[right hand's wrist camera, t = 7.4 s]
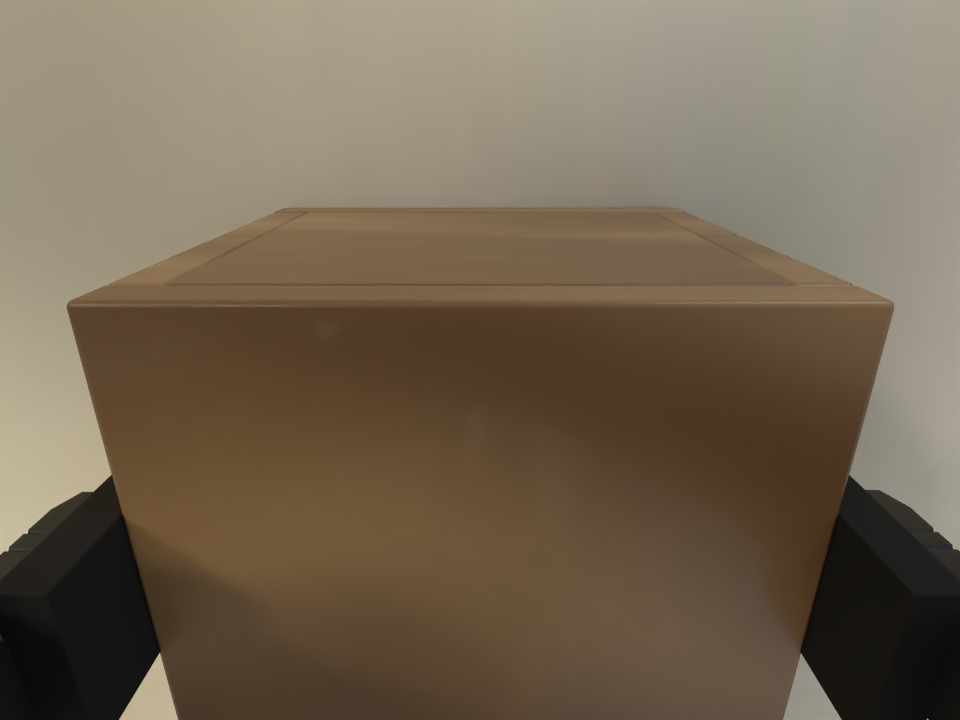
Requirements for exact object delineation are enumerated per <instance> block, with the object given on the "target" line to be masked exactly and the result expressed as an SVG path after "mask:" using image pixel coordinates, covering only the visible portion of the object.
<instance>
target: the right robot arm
mask: <svg viewBox="0 0 960 720" xmlns="http://www.w3.org/2000/svg"><path fill="white" fill-rule="evenodd" d="M28 531H29V532H28V534H23V535H22V536H21V537H20V538H19V539H18V540H17V541H15V542H14V543H13V544H12V545H11V546H10V547H9V551H8V552H3V553H2V554H1V555H0V720H119V719H120V717H121V715H122V714H123V712H124V710H125V709H126V707H127V705H128V704H129V702H130V700H131V699H132V697H133V696H134V694H135V692H136V691H137V689H138V687H139V686H140V684H141V682H142V681H143V679H144V677H145V676H146V674H147V673H148V671H149V669H150V668H151V666H152V664H153V663H154V661H155V659H156V658H157V656H158V654H159V653H160V650H159V647H158V643H157V639H156V636H155V632H154V628H153V625H152V621H151V617H150V613H149V610H148V606H147V602H146V599H145V595H144V591H143V588H142V584H141V580H140V576H139V573H138V569H137V565H136V562H135V558H134V554H133V551H132V547H131V543H130V539H129V536H128V532H127V528H126V525H125V521H124V517H123V514H122V510H121V506H120V502H119V499H118V495H117V491H116V488H115V484H114V480H113V477H112V475H111V476H110V477H109V478H108V479H107V480H106V481H105V482H104V483H103V484H102V485H100V486H99V487H98V488H97V489H96V490H95V491H94V492H81V493H80V494H78V495H76V496H74V497H73V498H71V499H69V500H67V501H65V502H64V503H62V504H60V505H58V506H57V507H55V508H53V509H51V510H50V511H49V512H48V513H47V514H46V515H45V516H43V517H42V518H41V519H40V520H39V521H38V522H37V523H36V524H34V525H33V526H32V527H31V528H30V529H29V530H28ZM801 653H802V655H803V657H804V658H805V660H806V662H807V663H808V665H809V667H810V668H811V670H812V672H813V673H814V675H815V676H816V678H817V680H818V681H819V683H820V685H821V686H822V688H823V690H824V691H825V693H826V695H827V696H828V698H829V699H830V701H831V703H832V704H833V706H834V708H835V709H836V711H837V713H838V714H839V716H840V718H841V719H842V720H927V718H928V719H929V720H960V551H959V550H954V549H953V547H952V544H951V543H950V542H948V541H947V540H946V539H945V538H944V537H943V536H942V535H941V534H939V533H938V532H934V531H933V527H932V526H930V525H929V524H928V523H927V522H926V521H925V520H924V519H923V518H921V517H920V516H919V515H918V514H917V513H916V512H915V511H913V510H912V509H911V508H910V507H908V506H906V505H905V504H903V503H901V502H899V501H898V500H896V499H894V498H892V497H890V496H889V495H887V494H885V493H883V492H881V491H880V490H864V489H863V488H862V487H861V486H860V485H859V484H858V483H857V482H856V481H855V480H854V479H853V478H852V477H851V476H850V475H849V477H848V480H847V484H846V488H845V491H844V495H843V499H842V502H841V506H840V510H839V513H838V517H837V521H836V525H835V528H834V532H833V536H832V539H831V543H830V547H829V550H828V554H827V558H826V561H825V565H824V569H823V573H822V576H821V580H820V584H819V587H818V591H817V595H816V598H815V602H814V606H813V610H812V613H811V617H810V621H809V624H808V628H807V632H806V635H805V639H804V643H803V646H802V650H801Z"/></svg>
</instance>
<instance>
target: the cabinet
mask: <svg viewBox="0 0 960 720" xmlns="http://www.w3.org/2000/svg"><path fill="white" fill-rule="evenodd" d="M67 310H68V314H69V318H70V321H71V325H72V329H73V332H74V336H75V340H76V343H77V347H78V351H79V355H80V358H81V362H82V366H83V369H84V373H85V377H86V380H87V384H88V388H89V392H90V395H91V399H92V403H93V406H94V410H95V414H96V417H97V421H98V425H99V429H100V432H101V436H102V440H103V443H104V447H105V451H106V454H107V458H108V462H109V465H110V469H111V473H112V477H113V480H114V484H115V488H116V491H117V495H118V499H119V502H120V506H121V510H122V514H123V517H124V521H125V525H126V528H127V532H128V536H129V539H130V543H131V547H132V551H133V554H134V558H135V562H136V565H137V569H138V573H139V576H140V580H141V584H142V588H143V591H144V595H145V599H146V602H147V606H148V610H149V613H150V617H151V621H152V625H153V628H154V632H155V636H156V639H157V643H158V647H159V650H160V654H161V658H162V662H163V665H164V669H165V673H166V676H167V680H168V684H169V687H170V691H171V695H172V699H173V702H174V706H175V710H176V713H177V717H178V720H783V717H784V713H785V709H786V706H787V702H788V698H789V695H790V691H791V687H792V683H793V680H794V676H795V672H796V669H797V665H798V661H799V658H800V654H801V650H802V646H803V643H804V639H805V635H806V632H807V628H808V624H809V621H810V617H811V613H812V610H813V606H814V602H815V598H816V595H817V591H818V587H819V584H820V580H821V576H822V573H823V569H824V565H825V561H826V558H827V554H828V550H829V547H830V543H831V539H832V536H833V532H834V528H835V525H836V521H837V517H838V513H839V510H840V506H841V502H842V499H843V495H844V491H845V488H846V484H847V480H848V477H849V473H850V469H851V465H852V462H853V458H854V454H855V451H856V447H857V443H858V440H859V436H860V432H861V428H862V425H863V421H864V417H865V414H866V410H867V406H868V403H869V399H870V395H871V392H872V388H873V384H874V380H875V377H876V373H877V369H878V366H879V362H880V358H881V355H882V351H883V347H884V344H885V340H886V336H887V332H888V329H889V325H890V321H891V318H892V314H893V310H894V304H893V302H892V301H890V300H887V299H885V298H883V297H880V296H878V295H876V294H873V293H871V292H869V291H867V290H864V289H862V288H860V287H857V286H853V285H852V284H850V283H848V282H846V281H843V280H841V279H839V278H836V277H834V276H832V275H829V274H827V273H825V272H822V271H820V270H818V269H815V268H813V267H811V266H808V265H806V264H804V263H802V262H799V261H797V260H795V259H792V258H790V257H788V256H785V255H783V254H781V253H778V252H776V251H774V250H771V249H769V248H767V247H764V246H762V245H760V244H757V243H755V242H753V241H750V240H748V239H746V238H743V237H741V236H739V235H736V234H734V233H732V232H729V231H727V230H725V229H722V228H720V227H718V226H715V225H713V224H711V223H708V222H706V221H704V220H701V219H699V218H697V217H694V216H692V215H690V214H687V213H686V212H684V211H682V210H679V209H677V208H284V209H282V210H279V211H277V212H275V213H274V214H271V215H269V216H267V217H264V218H262V219H260V220H257V221H255V222H253V223H250V224H248V225H246V226H243V227H241V228H239V229H236V230H234V231H232V232H229V233H227V234H225V235H222V236H220V237H218V238H215V239H213V240H211V241H208V242H206V243H204V244H201V245H199V246H197V247H194V248H192V249H190V250H187V251H185V252H183V253H180V254H178V255H176V256H173V257H171V258H169V259H166V260H164V261H162V262H159V263H157V264H155V265H152V266H150V267H148V268H145V269H143V270H141V271H138V272H136V273H134V274H131V275H129V276H127V277H124V278H122V279H120V280H117V281H115V282H113V283H111V284H109V285H108V286H104V287H101V288H99V289H97V290H94V291H92V292H90V293H87V294H85V295H83V296H80V297H78V298H76V299H73V300H71V301H69V302H68V304H67Z"/></svg>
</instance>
